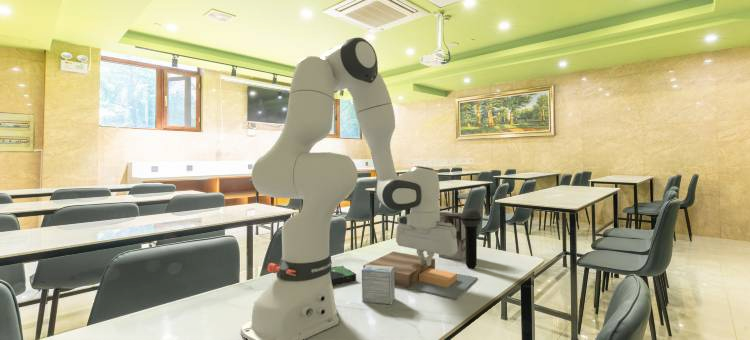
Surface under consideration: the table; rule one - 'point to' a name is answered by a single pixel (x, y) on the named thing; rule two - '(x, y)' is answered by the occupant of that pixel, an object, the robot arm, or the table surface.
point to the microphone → (471, 235)
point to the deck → (403, 267)
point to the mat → (448, 292)
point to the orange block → (438, 277)
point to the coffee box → (460, 233)
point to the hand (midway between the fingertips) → (425, 264)
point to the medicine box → (378, 284)
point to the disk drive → (341, 275)
